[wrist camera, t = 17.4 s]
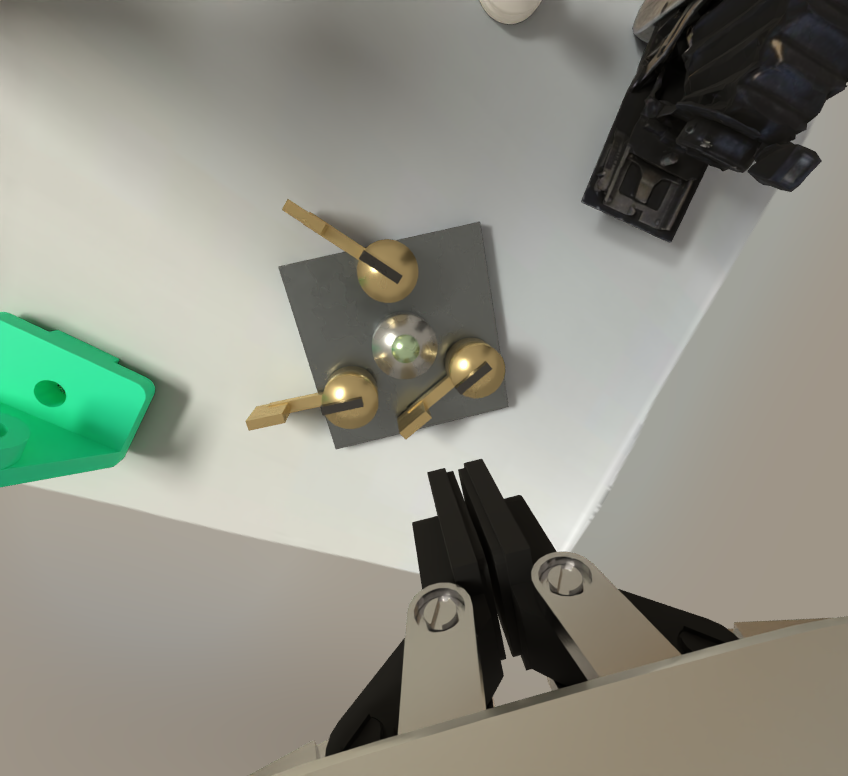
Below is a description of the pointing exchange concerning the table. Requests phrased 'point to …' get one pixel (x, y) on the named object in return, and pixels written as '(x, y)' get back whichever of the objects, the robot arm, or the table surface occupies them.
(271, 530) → the table surface
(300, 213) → the foot screw
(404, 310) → the levelling plate
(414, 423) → the foot screw
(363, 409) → the foot screw
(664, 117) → the vintage camera
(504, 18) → the chess pawn
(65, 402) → the camera mount
